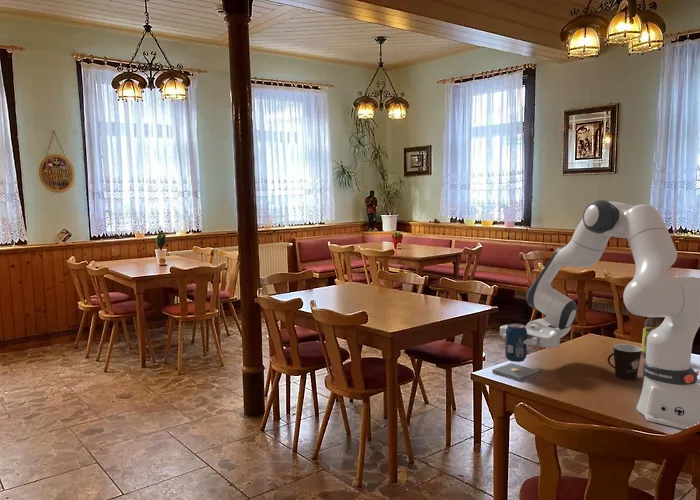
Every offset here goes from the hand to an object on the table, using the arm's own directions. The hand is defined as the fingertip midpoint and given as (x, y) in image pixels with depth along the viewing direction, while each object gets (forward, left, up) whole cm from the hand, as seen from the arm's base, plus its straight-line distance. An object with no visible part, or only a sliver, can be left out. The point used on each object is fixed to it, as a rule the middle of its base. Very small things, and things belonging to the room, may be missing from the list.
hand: (514, 339), depth 195 cm
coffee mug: (-25, -25, -12) cm, 37 cm away
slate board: (0, -1, -12) cm, 12 cm away
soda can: (0, -1, -7) cm, 7 cm away
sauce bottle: (-22, -54, -12) cm, 59 cm away
